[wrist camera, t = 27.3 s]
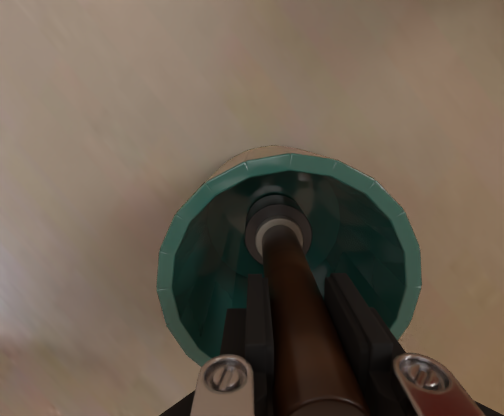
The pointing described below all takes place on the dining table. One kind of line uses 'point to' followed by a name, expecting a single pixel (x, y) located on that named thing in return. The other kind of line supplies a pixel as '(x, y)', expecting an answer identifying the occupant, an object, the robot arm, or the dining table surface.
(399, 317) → the jar
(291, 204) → the peg on round base
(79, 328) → the dining table surface
